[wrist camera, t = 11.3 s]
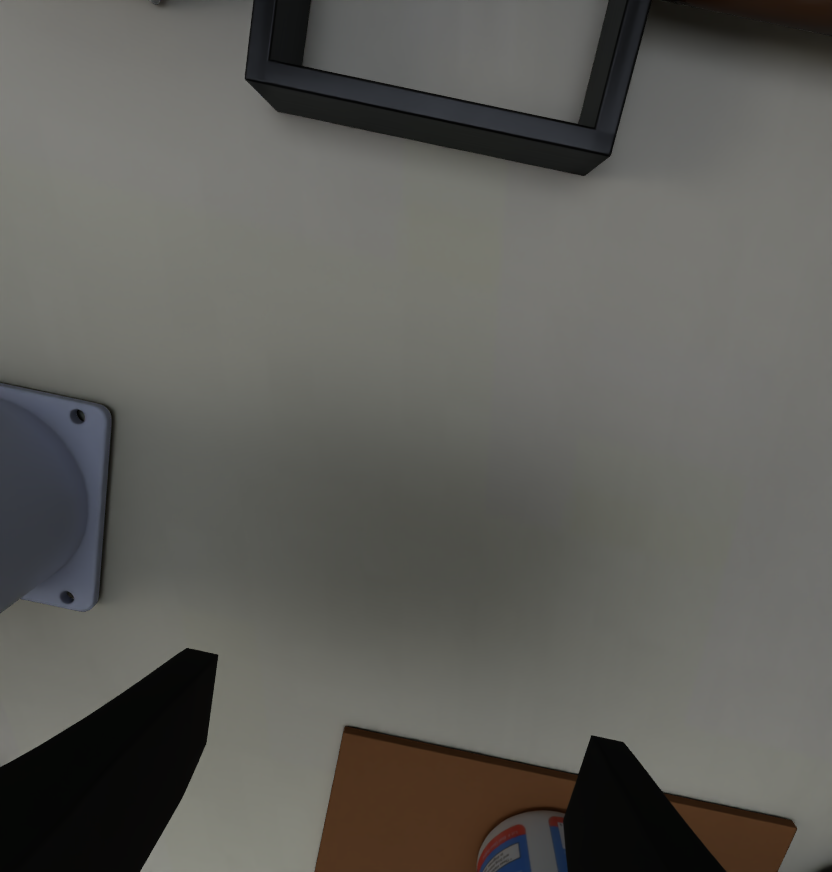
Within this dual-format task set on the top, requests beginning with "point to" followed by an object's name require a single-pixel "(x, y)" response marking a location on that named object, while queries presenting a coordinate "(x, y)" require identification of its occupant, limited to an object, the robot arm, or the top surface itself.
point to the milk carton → (155, 1)
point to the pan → (473, 122)
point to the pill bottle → (525, 844)
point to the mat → (483, 810)
